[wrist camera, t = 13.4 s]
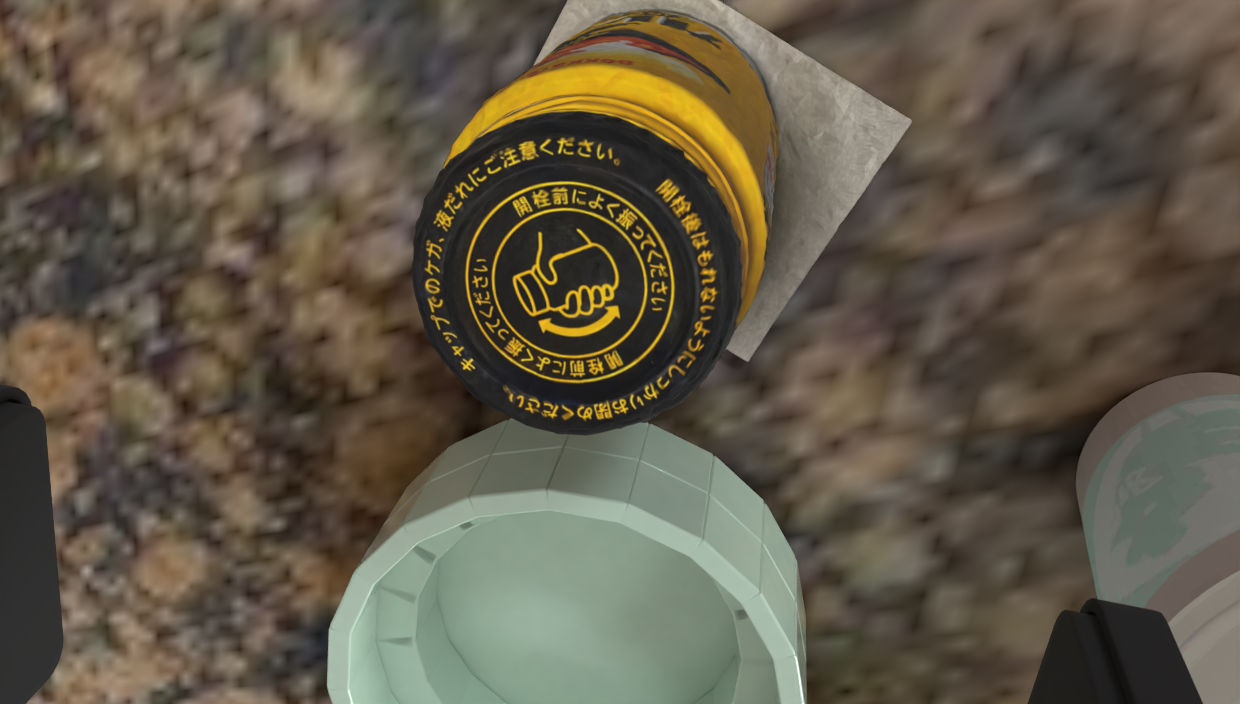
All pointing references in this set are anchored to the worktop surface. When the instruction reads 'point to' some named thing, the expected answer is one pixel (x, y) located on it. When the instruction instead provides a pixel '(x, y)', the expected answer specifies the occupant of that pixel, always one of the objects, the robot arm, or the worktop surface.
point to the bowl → (573, 580)
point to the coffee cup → (1172, 517)
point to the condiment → (636, 210)
